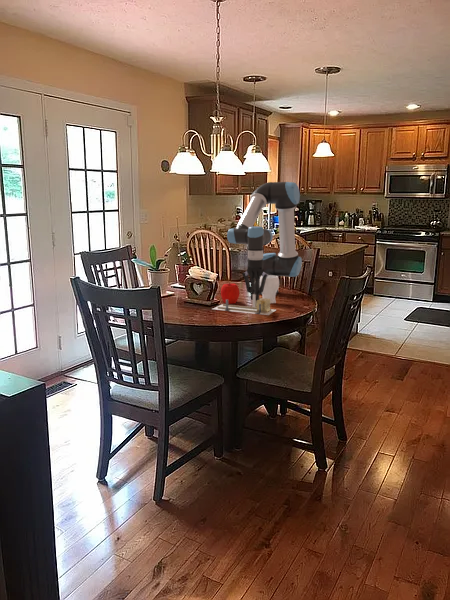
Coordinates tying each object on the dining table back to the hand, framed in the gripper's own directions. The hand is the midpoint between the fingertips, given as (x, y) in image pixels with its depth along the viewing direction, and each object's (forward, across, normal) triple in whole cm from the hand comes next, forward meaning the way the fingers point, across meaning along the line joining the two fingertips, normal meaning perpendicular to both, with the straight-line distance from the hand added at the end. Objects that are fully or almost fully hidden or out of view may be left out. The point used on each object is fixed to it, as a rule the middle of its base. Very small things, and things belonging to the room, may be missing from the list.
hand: (254, 306), depth 248 cm
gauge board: (+3, -6, 0) cm, 7 cm away
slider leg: (+2, +5, -1) cm, 5 cm away
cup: (+4, -1, +22) cm, 22 cm away
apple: (+4, -19, +12) cm, 23 cm away
